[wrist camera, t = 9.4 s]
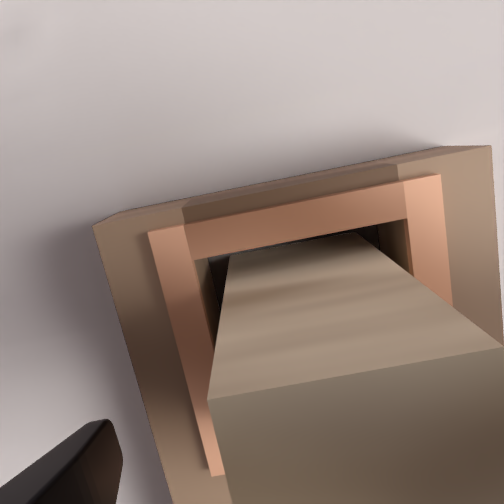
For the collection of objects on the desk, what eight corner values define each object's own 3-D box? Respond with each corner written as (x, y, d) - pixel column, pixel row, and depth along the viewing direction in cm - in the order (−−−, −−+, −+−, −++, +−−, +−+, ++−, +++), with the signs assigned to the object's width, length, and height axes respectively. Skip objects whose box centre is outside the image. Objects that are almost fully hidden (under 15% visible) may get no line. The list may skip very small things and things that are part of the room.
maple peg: (371, 346, 14) (517, 582, 7) (253, 367, 14) (261, 622, 7) (354, 231, 13) (504, 346, 6) (230, 255, 14) (206, 400, 6)
